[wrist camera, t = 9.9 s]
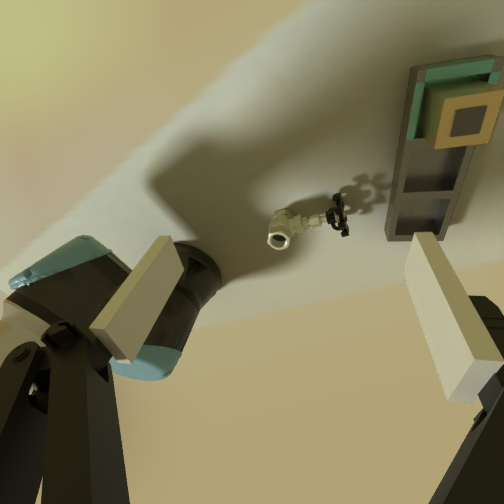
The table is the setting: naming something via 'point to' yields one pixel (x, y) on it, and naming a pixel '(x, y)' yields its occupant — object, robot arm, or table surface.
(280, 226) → the valve
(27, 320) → the robot arm
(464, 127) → the hollow square tube
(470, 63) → the divided tray
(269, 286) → the table surface
